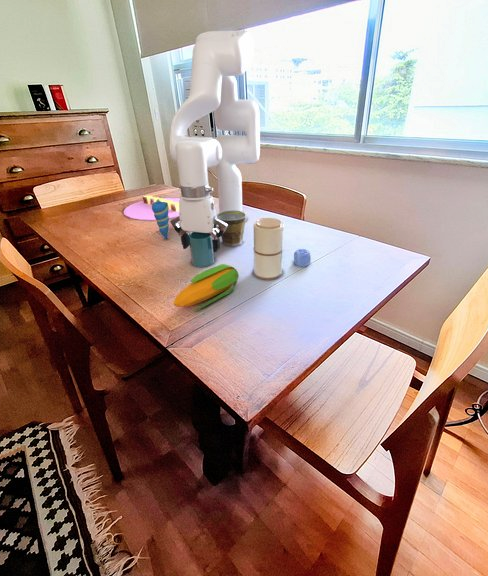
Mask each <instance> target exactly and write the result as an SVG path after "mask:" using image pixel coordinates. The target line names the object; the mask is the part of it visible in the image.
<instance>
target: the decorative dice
mask: <svg viewBox="0 0 488 576" xmlns="http://www.w3.org/2000/svg"><path fill="white" fill-rule="evenodd" d="M293 261H294V264H295V265H296V266H298V267H306V266H308V265H309V264H310V263H311V252H310V250H308V249H306V248H298V249H297V250H295V251H294V253H293Z"/></svg>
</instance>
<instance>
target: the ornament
mask: <svg viewBox="0 0 488 576" xmlns="http://www.w3.org/2000/svg"><path fill="white" fill-rule="evenodd" d="M159 198H160V197H159ZM159 198H158V199H157V202H154V203H153V204H152V210H153V212H154V217H155V218H156V220H155V221H156V224H157V226H158V228H159V232H160V234H161V236H162V237H163V239H164V240H168V235H169V230H170V228H169V227H170V225H169V221H170V218H169V217H168V209H167V207H166V204H165V203H164V202H161V201H159Z"/></svg>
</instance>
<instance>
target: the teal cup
mask: <svg viewBox="0 0 488 576" xmlns="http://www.w3.org/2000/svg"><path fill="white" fill-rule="evenodd" d="M188 238H189V251H190V258H191V264H192V265H193V266H195V267H198V268H206V267H209V266H212V265H213V264H214V263H215V252H213V243H212V240H213V237H212V236H211V235H210V233H199V232H189V233H188Z"/></svg>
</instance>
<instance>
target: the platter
mask: <svg viewBox="0 0 488 576" xmlns="http://www.w3.org/2000/svg"><path fill="white" fill-rule="evenodd" d="M158 198H159V201H161V202H164V203H165V204H166V207H167V209H168V217H169V219H174V218H176V217H178V216H179V199H180V197H158V196H153V195H150V194H147V195H143V196H142V201H138V202H137V201H136V202H134V203H131V204H130V205H128V206H127V207H124V210H123V214H124V216H125V217H127V218H130V219H134V220H139V221H157V220H156V218H155V217H154V212H153V210H152V204H153V203H154V202H157V199H158Z"/></svg>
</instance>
